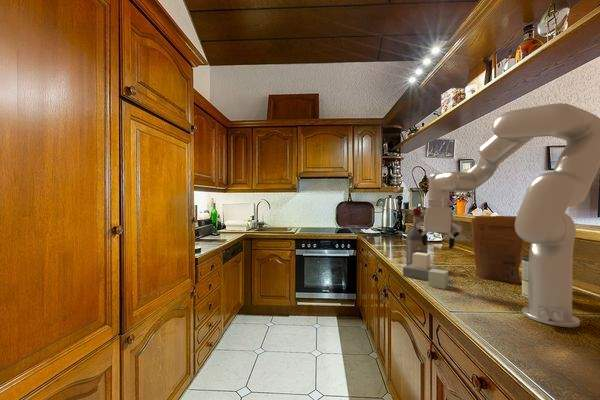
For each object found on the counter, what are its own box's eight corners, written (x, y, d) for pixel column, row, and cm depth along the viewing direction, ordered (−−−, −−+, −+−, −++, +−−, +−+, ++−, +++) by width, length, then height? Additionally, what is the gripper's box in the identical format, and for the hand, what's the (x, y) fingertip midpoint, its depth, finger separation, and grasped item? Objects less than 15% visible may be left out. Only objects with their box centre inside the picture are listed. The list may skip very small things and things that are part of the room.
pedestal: (431, 281, 119) (431, 271, 119) (403, 276, 127) (403, 267, 127) (438, 275, 128) (438, 266, 128) (411, 271, 136) (412, 262, 136)
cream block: (426, 269, 123) (426, 255, 123) (412, 267, 127) (412, 253, 127) (430, 266, 128) (430, 253, 128) (416, 264, 132) (416, 252, 132)
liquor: (428, 270, 139) (428, 209, 139) (409, 269, 141) (409, 209, 141) (423, 265, 148) (424, 209, 148) (405, 265, 150) (405, 208, 150)
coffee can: (545, 293, 104) (545, 255, 104) (567, 303, 94) (567, 261, 94) (514, 292, 106) (515, 254, 106) (533, 301, 95) (533, 260, 95)
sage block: (444, 289, 108) (444, 273, 109) (428, 286, 112) (428, 271, 112) (448, 285, 113) (448, 270, 113) (432, 283, 117) (432, 268, 117)
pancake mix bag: (524, 285, 114) (525, 216, 114) (470, 277, 126) (470, 215, 126) (525, 282, 119) (525, 216, 119) (472, 274, 131) (473, 214, 131)
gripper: (464, 204, 110) (463, 248, 110) (419, 203, 121) (418, 243, 122) (461, 205, 105) (459, 250, 105) (413, 203, 116) (412, 245, 116)
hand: (437, 246), depth 113 cm, fingers open, 9 cm apart
